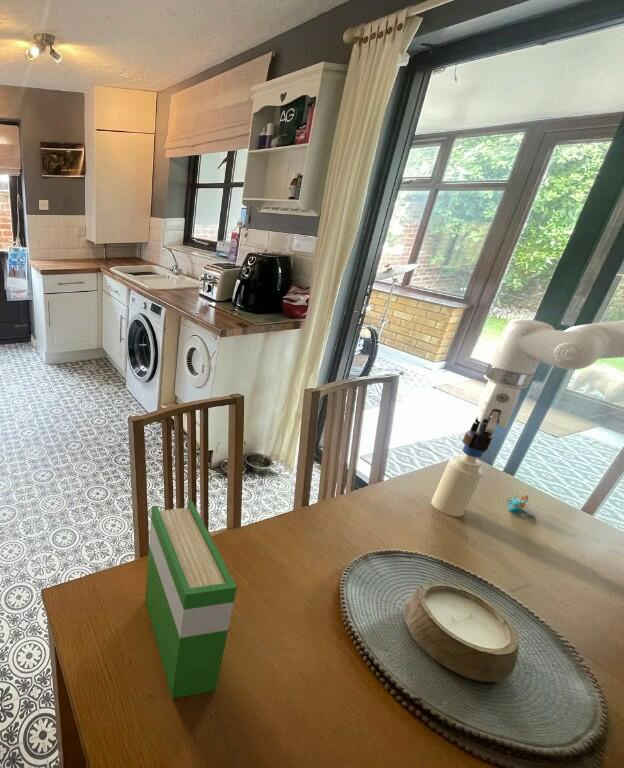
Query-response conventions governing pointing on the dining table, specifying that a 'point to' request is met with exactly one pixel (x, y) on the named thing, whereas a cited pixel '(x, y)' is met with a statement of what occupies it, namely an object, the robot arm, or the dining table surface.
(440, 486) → the bottle
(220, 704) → the dining table surface
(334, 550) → the dining table surface
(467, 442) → the chip
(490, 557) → the dining table surface
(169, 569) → the hardback book
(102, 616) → the dining table surface
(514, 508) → the dragon figurine
